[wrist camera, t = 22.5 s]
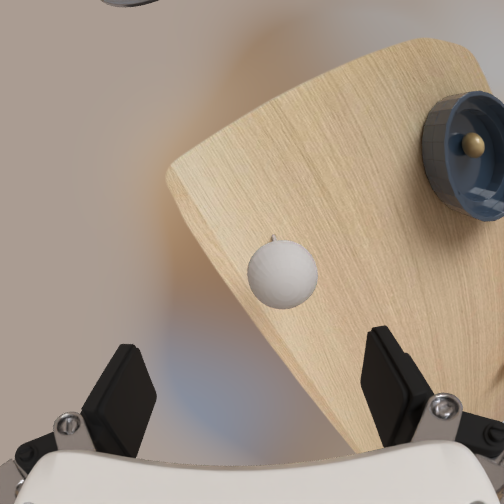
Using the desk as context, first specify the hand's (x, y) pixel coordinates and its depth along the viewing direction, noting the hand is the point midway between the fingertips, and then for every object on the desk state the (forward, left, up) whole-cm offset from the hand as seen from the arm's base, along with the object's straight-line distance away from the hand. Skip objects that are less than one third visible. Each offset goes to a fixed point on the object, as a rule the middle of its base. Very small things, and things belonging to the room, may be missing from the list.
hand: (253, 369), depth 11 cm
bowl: (-8, +31, -26) cm, 41 cm away
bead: (-9, +31, -24) cm, 40 cm away
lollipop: (+2, +2, -26) cm, 27 cm away
